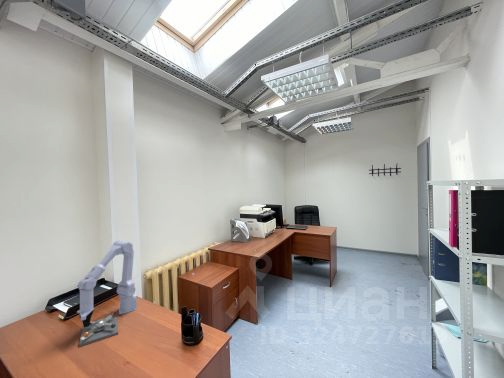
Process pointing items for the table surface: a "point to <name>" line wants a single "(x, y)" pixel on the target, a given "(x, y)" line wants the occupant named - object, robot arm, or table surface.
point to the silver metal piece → (100, 325)
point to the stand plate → (99, 333)
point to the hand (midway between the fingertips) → (86, 326)
